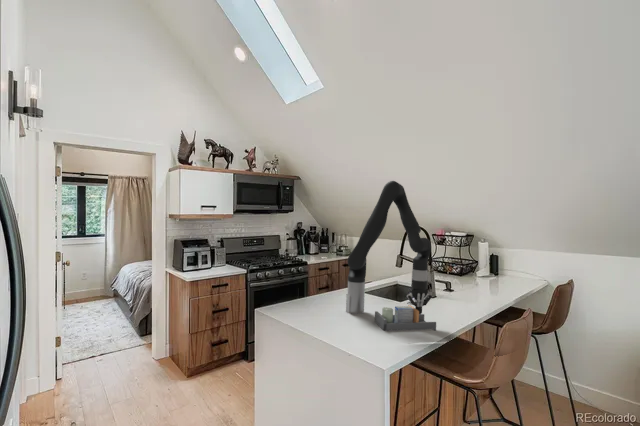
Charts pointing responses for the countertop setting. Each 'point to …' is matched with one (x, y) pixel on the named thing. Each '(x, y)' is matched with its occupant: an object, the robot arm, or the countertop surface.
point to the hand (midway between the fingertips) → (418, 313)
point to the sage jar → (388, 314)
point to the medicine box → (403, 314)
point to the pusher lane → (403, 324)
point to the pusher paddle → (415, 314)
